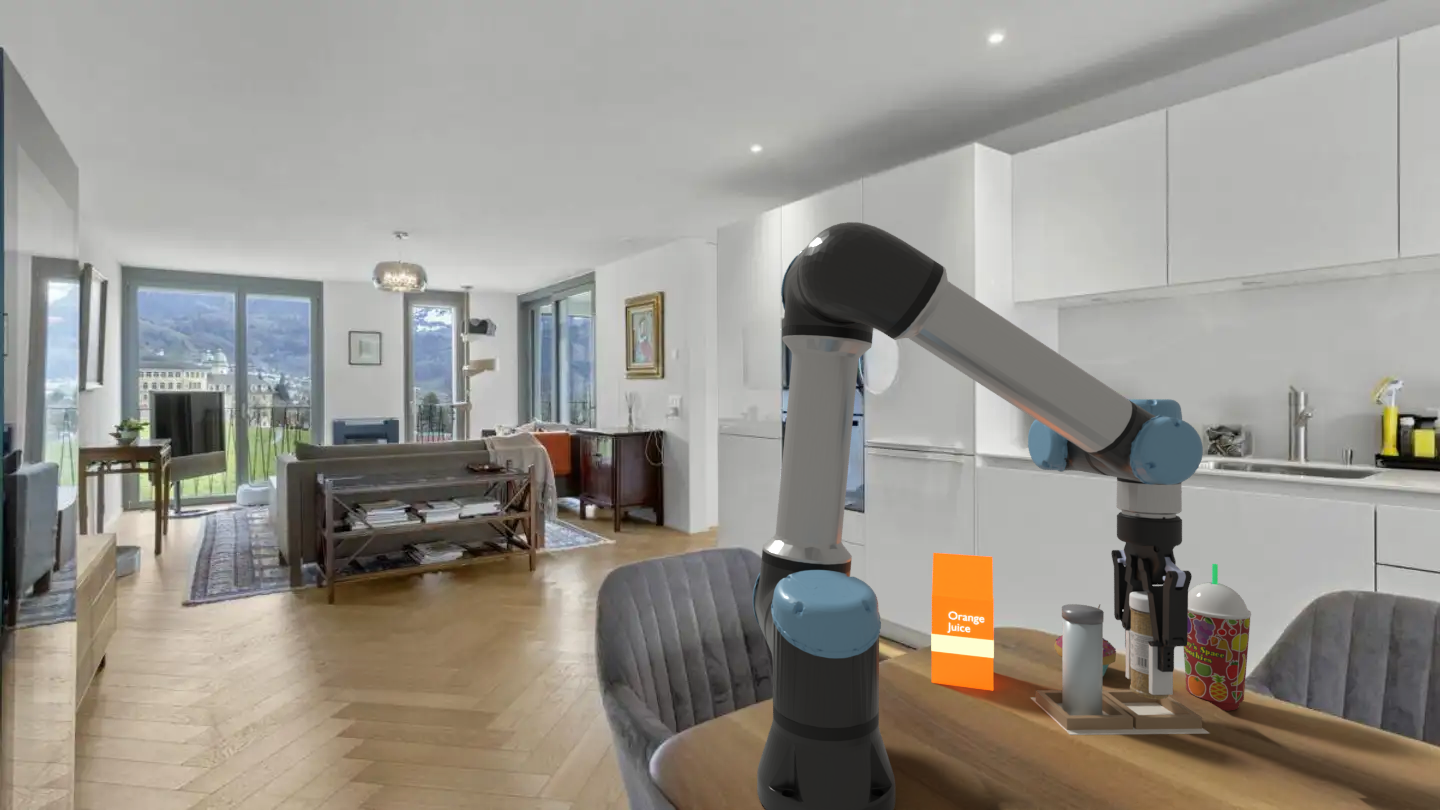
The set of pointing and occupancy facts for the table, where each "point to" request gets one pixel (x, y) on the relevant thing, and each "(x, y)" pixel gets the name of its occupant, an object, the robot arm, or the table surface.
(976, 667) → the orange juice
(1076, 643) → the white bottle
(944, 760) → the table surface
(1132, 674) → the spice jar
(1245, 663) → the smoothie
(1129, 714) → the frame
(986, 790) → the table surface
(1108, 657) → the cupcake
